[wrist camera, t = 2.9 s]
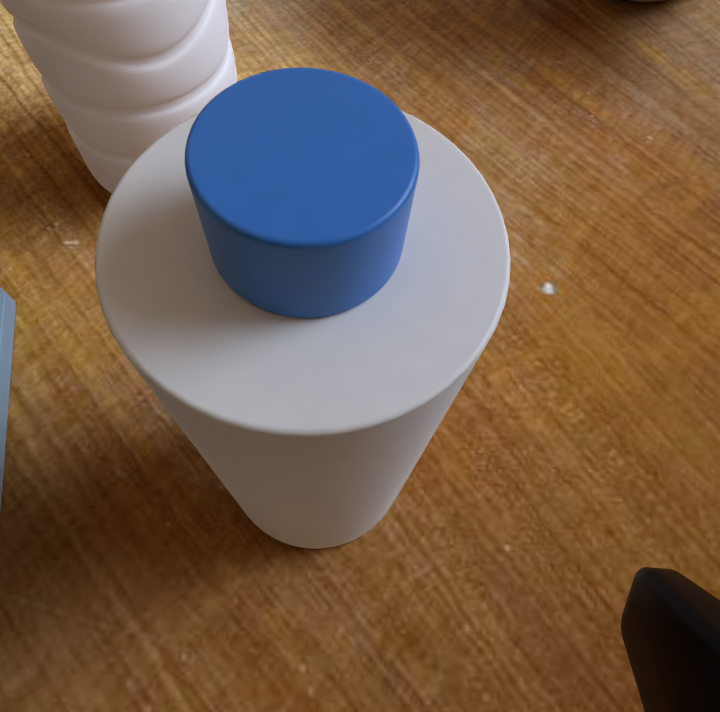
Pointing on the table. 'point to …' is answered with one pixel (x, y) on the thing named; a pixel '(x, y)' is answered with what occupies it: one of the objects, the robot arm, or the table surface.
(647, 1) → the mortar
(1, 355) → the light blue box
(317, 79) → the detergent bottle
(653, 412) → the table surface
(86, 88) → the water bottle
